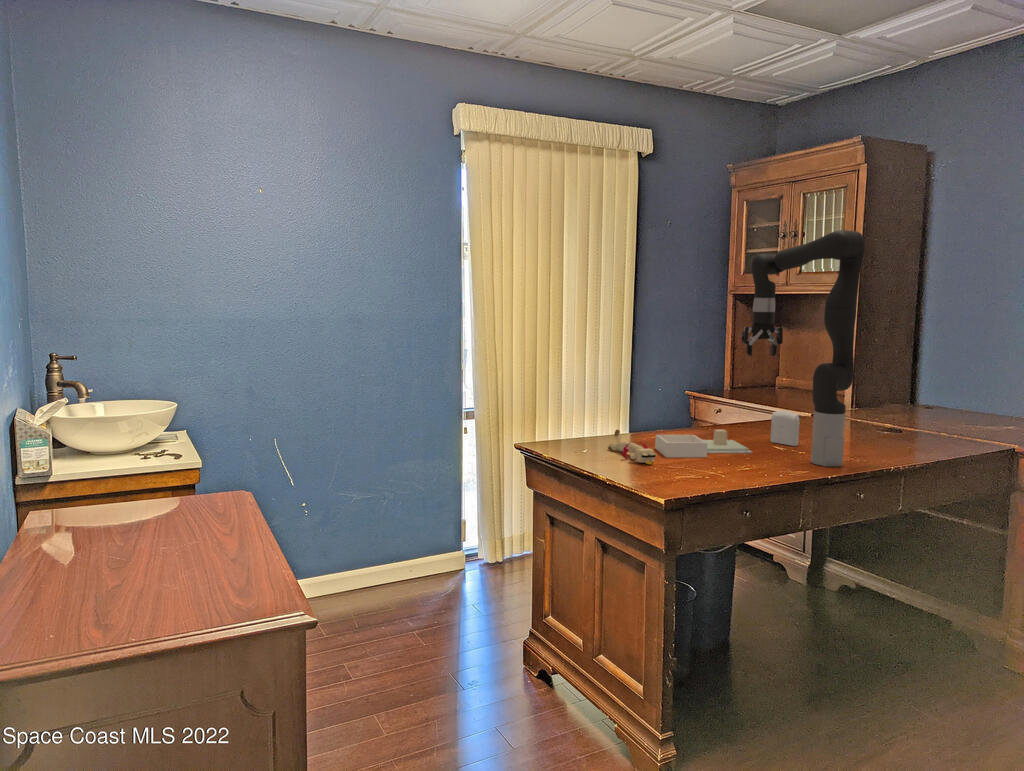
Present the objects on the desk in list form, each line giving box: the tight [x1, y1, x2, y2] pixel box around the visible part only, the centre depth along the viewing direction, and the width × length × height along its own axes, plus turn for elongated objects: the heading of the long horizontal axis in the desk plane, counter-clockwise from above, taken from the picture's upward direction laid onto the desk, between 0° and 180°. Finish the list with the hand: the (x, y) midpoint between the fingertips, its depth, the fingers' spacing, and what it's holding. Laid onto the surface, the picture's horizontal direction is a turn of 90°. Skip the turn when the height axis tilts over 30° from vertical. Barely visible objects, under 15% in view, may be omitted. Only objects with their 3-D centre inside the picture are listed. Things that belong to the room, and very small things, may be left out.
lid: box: [703, 428, 749, 451], centre depth 254 cm, size 15×15×6 cm
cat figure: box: [607, 429, 658, 465], centre depth 238 cm, size 10×9×25 cm
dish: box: [654, 434, 708, 459], centre depth 245 cm, size 14×14×5 cm
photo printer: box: [770, 410, 800, 447], centre depth 263 cm, size 10×4×12 cm, turn 39°
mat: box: [707, 449, 753, 454], centre depth 255 cm, size 17×17×1 cm
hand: (761, 355), depth 256 cm, fingers open, 8 cm apart
